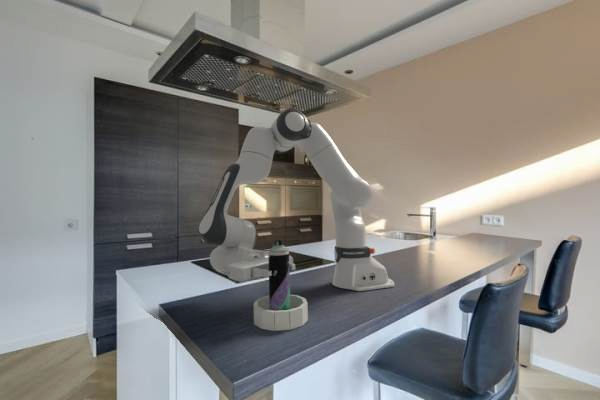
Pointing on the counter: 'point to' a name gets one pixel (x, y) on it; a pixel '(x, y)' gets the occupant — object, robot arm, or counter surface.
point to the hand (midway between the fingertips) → (282, 270)
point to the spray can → (279, 277)
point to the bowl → (281, 314)
